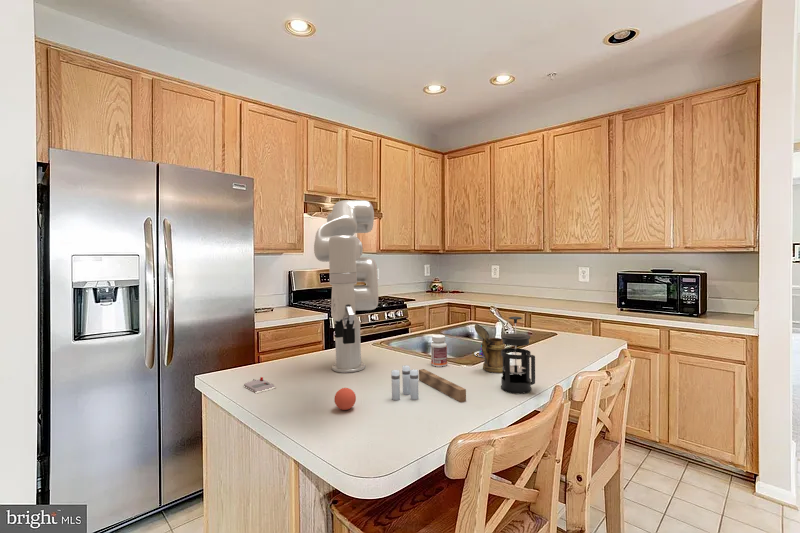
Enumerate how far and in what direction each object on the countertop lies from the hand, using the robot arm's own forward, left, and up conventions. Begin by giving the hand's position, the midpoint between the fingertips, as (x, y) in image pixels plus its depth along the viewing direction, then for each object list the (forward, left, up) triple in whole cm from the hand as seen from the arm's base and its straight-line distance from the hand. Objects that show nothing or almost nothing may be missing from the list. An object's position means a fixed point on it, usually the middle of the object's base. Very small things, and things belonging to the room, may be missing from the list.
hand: (344, 340), depth 114 cm
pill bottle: (-24, +47, -20) cm, 56 cm away
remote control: (-33, -19, -21) cm, 43 cm away
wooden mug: (-8, +59, -20) cm, 62 cm away
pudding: (-26, +73, -20) cm, 80 cm away
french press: (+12, +53, -20) cm, 58 cm away
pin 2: (+3, +21, -20) cm, 29 cm away
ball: (0, 0, -17) cm, 17 cm away
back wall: (0, +32, -20) cm, 37 cm away
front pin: (0, +16, -20) cm, 25 cm away
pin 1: (-2, +21, -20) cm, 29 cm away
